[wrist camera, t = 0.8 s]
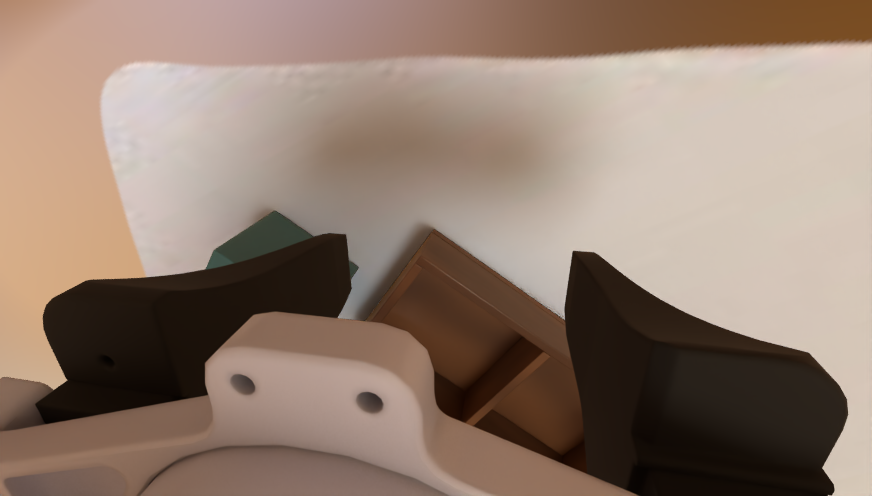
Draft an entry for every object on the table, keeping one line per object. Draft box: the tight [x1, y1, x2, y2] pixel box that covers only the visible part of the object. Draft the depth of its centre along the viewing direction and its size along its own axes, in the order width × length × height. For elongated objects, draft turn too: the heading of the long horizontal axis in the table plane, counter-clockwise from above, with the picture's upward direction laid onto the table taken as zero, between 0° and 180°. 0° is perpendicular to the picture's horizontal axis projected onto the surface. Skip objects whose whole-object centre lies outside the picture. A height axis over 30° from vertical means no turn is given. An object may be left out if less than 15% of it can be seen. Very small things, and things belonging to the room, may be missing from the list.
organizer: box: [365, 229, 587, 474], centre depth 25 cm, size 8×24×4 cm, turn 56°
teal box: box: [205, 211, 358, 278], centre depth 24 cm, size 4×6×6 cm
